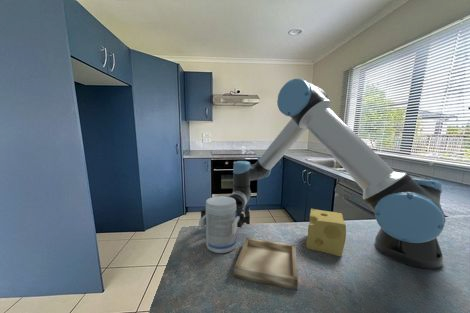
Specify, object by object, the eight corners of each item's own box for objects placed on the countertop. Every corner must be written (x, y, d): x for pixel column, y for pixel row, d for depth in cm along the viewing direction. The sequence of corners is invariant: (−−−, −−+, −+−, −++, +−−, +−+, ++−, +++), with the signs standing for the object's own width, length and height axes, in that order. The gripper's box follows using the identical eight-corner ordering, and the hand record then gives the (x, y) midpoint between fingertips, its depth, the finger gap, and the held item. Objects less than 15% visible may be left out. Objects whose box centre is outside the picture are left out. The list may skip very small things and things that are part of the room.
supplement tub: (242, 248, 60) (242, 202, 58) (214, 258, 54) (214, 208, 53) (226, 235, 68) (226, 194, 66) (200, 242, 62) (200, 198, 61)
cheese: (305, 249, 60) (307, 218, 59) (308, 234, 69) (310, 207, 69) (344, 258, 55) (346, 225, 54) (341, 240, 65) (343, 212, 64)
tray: (294, 252, 58) (295, 244, 57) (297, 290, 43) (297, 279, 43) (246, 245, 61) (246, 237, 61) (233, 277, 47) (234, 267, 47)
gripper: (263, 215, 75) (253, 245, 53) (210, 209, 81) (182, 234, 59) (263, 196, 74) (254, 219, 53) (210, 191, 80) (181, 210, 58)
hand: (216, 227), depth 56 cm, fingers closed on supplement tub, 9 cm apart
